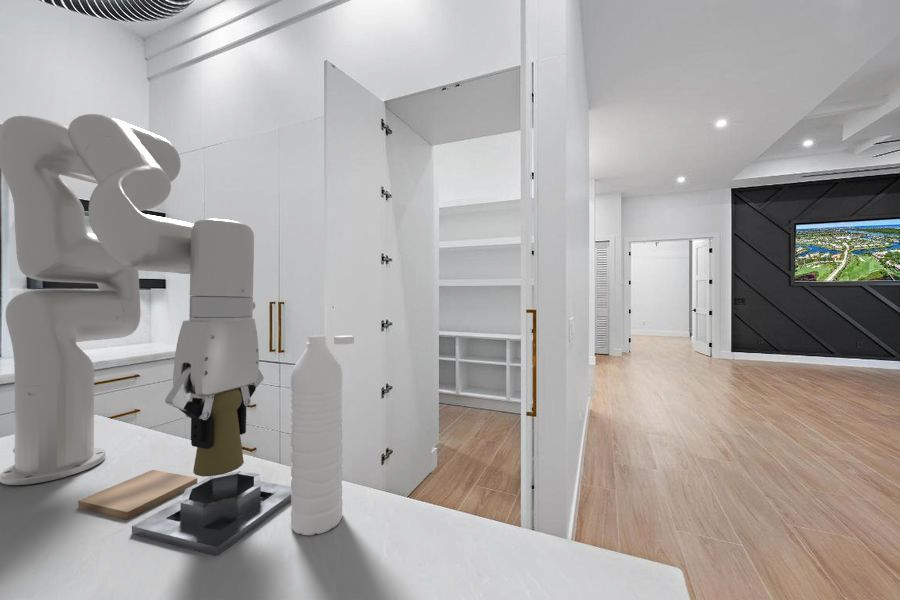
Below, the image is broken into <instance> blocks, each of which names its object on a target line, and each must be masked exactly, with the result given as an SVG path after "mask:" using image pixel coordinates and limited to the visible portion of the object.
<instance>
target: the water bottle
mask: <svg viewBox="0 0 900 600" xmlns="http://www.w3.org/2000/svg"><path fill="white" fill-rule="evenodd" d="M354 340H355V336H354V335H351V334H349V335H335V336H333V344H334V345H352V344H355V341H354ZM306 344H307V347H306V348H305V350H304V351H303V353H302V354H301V355H300V357H299V358H298V360H297V361H296V363H295V364H294V366H293V368H292V371H291V375H290V389H291V392H290V395H291V396H290V397H291V399H290V401H291V402H290V403H291V406H290V407H291V412H290V414H291V415H290V416H291V419H290V420H291V421H290V422H291V424H290V428H291V432H290V445H291V452H290V461H291V466H290V475H291V480H290V487H291V490H292V493H291V501H290V505H291V508H290V525H291V526H290V527H291V529H292V530H293V532H294V533H296V534H298V535H299V534H301V535H303V536H314V535H320V534H325V533H326V532H328V531H330V530H331V529H333V528H335V527H337V525H338V524H339V523H340V522H341V519H342V517H343V498H342V497H343V467H342V464H343V456H342V455H343V442H342V440H343V424H342V423H343V418H342V417H343V394H342V393H343V388H342V387H343V371H342V370H343V369H342V367H341V364H340V362H339V361H338V359H337V358H336V357H335V355H334V354H333V353H332V352H331V350H330V348H329V347H328V341H327V336H326V335H323V334H322V335H320V334H319V335H308V338H307V342H306Z"/></svg>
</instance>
